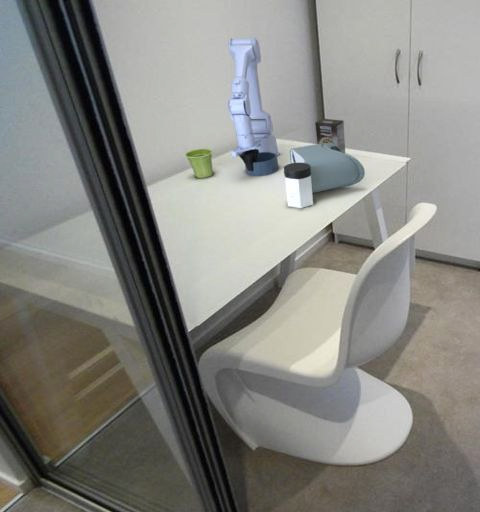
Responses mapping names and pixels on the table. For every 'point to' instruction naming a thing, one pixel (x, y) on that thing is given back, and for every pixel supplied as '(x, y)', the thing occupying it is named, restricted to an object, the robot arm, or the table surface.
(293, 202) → the jar
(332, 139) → the coffee box
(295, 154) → the grey-blue rounded tapered piece
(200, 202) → the table surface
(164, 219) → the table surface
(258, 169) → the tub
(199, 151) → the plant pot
